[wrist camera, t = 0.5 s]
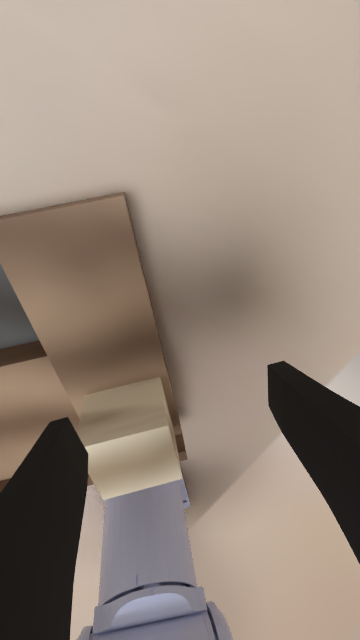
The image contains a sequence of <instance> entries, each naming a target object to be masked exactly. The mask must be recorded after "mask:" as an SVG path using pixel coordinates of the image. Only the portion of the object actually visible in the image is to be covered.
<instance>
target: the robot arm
mask: <svg viewBox="0 0 360 640" xmlns="http://www.w3.org/2000/svg"><path fill="white" fill-rule="evenodd" d="M268 402H269V407H270V409H271V411H272V413H273V416H274V418H275V420H276V422H277V424H278V426H279V428H280V429H281V431H282V433H283V435H284V436H285V438H286V439H287V441H288V442H289V444H290V446H291V447H292V449H293V450H294V452H295V453H296V455H297V456H298V458H299V460H300V461H301V462H302V464H303V466H304V467H305V469H306V470H307V472H308V473H309V474H310V476H311V478H312V480H313V481H314V483H315V484H316V486H317V487H318V489H319V490H320V492H321V493H322V495H323V497H324V498H325V500H326V502H327V504H328V505H329V507H330V509H331V511H332V512H333V514H334V516H335V518H336V520H337V522H338V523H339V525H340V527H341V529H342V531H343V533H344V535H345V536H346V538H347V540H348V542H349V544H350V546H351V548H352V549H353V552H354V554H355V556H356V558H357V560H358V562H359V563H360V407H359V406H357V405H355V404H354V403H352V402H350V401H348V400H347V399H345V398H343V397H341V396H340V395H338V394H336V393H334V392H333V391H331V390H329V389H328V388H326V387H325V386H323V385H321V384H320V383H318V382H316V381H315V380H313V379H312V378H310V377H308V376H307V375H305V374H304V373H302V372H301V371H299V370H297V369H296V368H294V367H293V366H291V365H290V364H288V363H286V362H285V361H281V362H278V363H274V364H270V365H268ZM182 478H183V476H182ZM87 483H88V452H87V450H86V449H85V447H84V445H83V443H82V441H81V440H80V438H79V436H78V434H77V432H76V431H75V429H74V427H73V425H72V423H71V422H70V420H69V418H68V417H66V418H62V419H58V420H54V421H50V422H49V424H48V425H47V427H46V428H45V429H44V431H43V432H42V434H41V435H40V437H39V438H38V440H37V441H36V443H35V444H34V446H33V447H32V449H31V450H30V451H29V453H28V454H27V456H26V457H25V459H24V460H23V462H22V463H21V464H20V466H19V467H18V469H17V470H16V472H15V473H14V474H13V476H12V477H11V479H10V480H9V482H8V483H7V484H6V486H5V487H4V489H3V490H2V491H1V493H0V640H70V624H71V610H72V595H73V582H74V573H75V565H76V558H77V552H78V545H79V539H80V532H81V525H82V519H83V512H84V505H85V499H86V492H87ZM103 501H104V502H105V512H104V527H103V542H102V557H101V572H100V586H99V601H98V606H96V607H95V609H94V622H93V626H86V627H84V628H83V629H82V631H81V634H80V635H79V637H78V638H77V640H233V638H232V634H231V631H230V628H229V626H228V623H227V621H226V618H225V616H224V615H223V613H222V612H221V611H220V610H219V609H218V608H217V606H216V605H215V603H214V602H212V601H210V602H206V599H205V594H204V589H203V587H202V586H201V587H197V584H196V577H195V571H194V566H193V560H192V554H191V548H190V542H189V536H188V530H187V524H186V518H185V512H184V509H187V508H189V507H190V501H189V498H188V494H187V490H186V487H185V483H184V479H180V480H176V481H172V482H168V483H165V484H161V485H157V486H154V487H150V488H146V489H143V490H139V491H135V492H131V493H128V494H124V495H120V496H117V497H113V498H109V499H106V500H103Z"/></svg>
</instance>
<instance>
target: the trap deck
mask: <svg viewBox="0 0 360 640" xmlns="http://www.w3.org/2000/svg"><path fill="white" fill-rule="evenodd" d="M157 377H160V378H161V382H162V386H163V390H164V393H165V397H166V401H167V405H168V409H169V412H170V416H171V420H172V424H173V428H174V434H175V439H176V445H177V450H178V456H179V461H183V460H187V455H186V450H185V445H184V440H183V436H182V431H181V426H180V421H179V417H178V412H177V408H176V404H175V400H174V396H173V392H172V388H171V384H170V379H169V375H168V371H167V367H166V363H165V359H164V355H163V351H162V346H161V342H160V338H159V334H158V330H157V326H156V322H155V318H154V313H153V309H152V305H151V301H150V297H149V293H148V289H147V285H146V280H145V276H144V272H143V268H142V264H141V260H140V256H139V252H138V247H137V243H136V239H135V235H134V231H133V227H132V223H131V219H130V214H129V210H128V206H127V202H126V198H125V194H124V192H123V193H117V194H112V195H107V196H102V197H97V198H92V199H87V200H81V201H76V202H71V203H66V204H61V205H56V206H50V207H45V208H40V209H35V210H30V211H25V212H20V213H14V214H9V215H4V216H0V493H1V491H2V490H3V489H4V487H5V486H6V484H7V483H8V482H9V480H10V479H11V477H12V476H13V474H14V473H15V472H16V470H17V469H18V467H19V466H20V464H21V463H22V462H23V460H24V459H25V457H26V456H27V454H28V453H29V451H30V450H31V449H32V447H33V446H34V444H35V443H36V441H37V440H38V438H39V437H40V435H41V434H42V432H43V431H44V429H45V428H46V427H47V425H48V424H49V422H50V421H54V420H58V419H62V418H66V417H68V418H69V420H70V422H71V423H72V425H73V427H74V429H75V431H76V432H77V433H78V428H79V422H80V417H81V412H82V407H83V402H84V396H85V395H87V394H91V393H95V392H99V391H104V390H108V389H112V388H116V387H120V386H124V385H128V384H132V383H137V382H141V381H145V380H149V379H153V378H157ZM93 484H94V483H93V481H92V480H91V478H90V476H89V474H88V483H87V486H89V485H93Z"/></svg>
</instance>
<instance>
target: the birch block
mask: <svg viewBox="0 0 360 640" xmlns="http://www.w3.org/2000/svg"><path fill="white" fill-rule="evenodd" d="M77 434H78V436H79V438H80V440H81V441H82V443H83V445H84V447H85V449H86V450H87V452H88V474H89V476H90V478H91V480H92V481H93V483H94V485H95V487H96V488H97V490H98V492H99V494H100V495H101V497H102V499H103V500H106V499H109V498H113V497H117V496H120V495H124V494H128V493H131V492H135V491H139V490H143V489H146V488H150V487H154V486H157V485H161V484H165V483H168V482H172V481H176V480H180V479H183V478H182V472H181V467H180V461H179V456H178V450H177V445H176V439H175V434H174V428H173V424H172V420H171V416H170V412H169V409H168V405H167V401H166V397H165V393H164V390H163V386H162V382H161V378H160V377H157V378H153V379H149V380H145V381H141V382H137V383H132V384H128V385H124V386H120V387H116V388H112V389H108V390H104V391H99V392H95V393H91V394H87V395H85V396H84V402H83V407H82V412H81V417H80V422H79V428H78V433H77Z"/></svg>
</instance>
